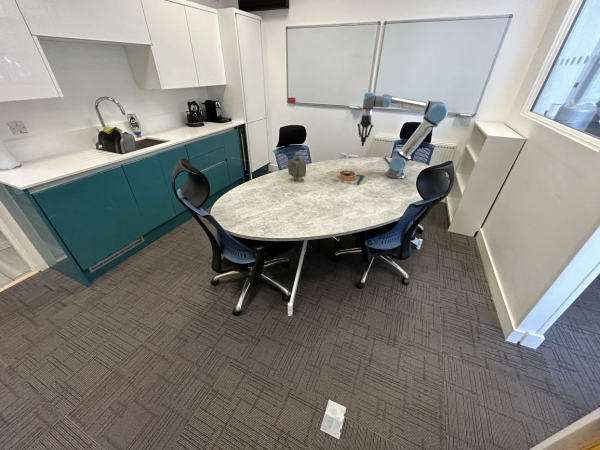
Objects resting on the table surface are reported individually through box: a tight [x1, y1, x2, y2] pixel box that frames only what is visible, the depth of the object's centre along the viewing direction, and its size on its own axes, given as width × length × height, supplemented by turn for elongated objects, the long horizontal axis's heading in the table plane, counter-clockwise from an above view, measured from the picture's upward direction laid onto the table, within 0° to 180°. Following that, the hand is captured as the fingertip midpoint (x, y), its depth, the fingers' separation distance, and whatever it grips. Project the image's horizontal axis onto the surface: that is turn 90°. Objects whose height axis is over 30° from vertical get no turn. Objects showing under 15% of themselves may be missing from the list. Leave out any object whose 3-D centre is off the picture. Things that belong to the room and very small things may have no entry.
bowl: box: [338, 169, 357, 182], centre depth 212 cm, size 14×14×4 cm
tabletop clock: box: [287, 150, 307, 182], centre depth 203 cm, size 14×9×25 cm, turn 34°
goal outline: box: [356, 174, 364, 186], centre depth 213 cm, size 22×22×1 cm
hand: (362, 145), depth 204 cm, fingers closed
